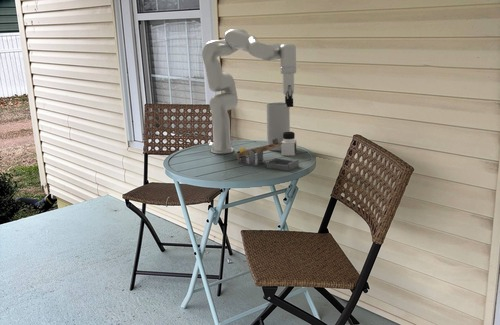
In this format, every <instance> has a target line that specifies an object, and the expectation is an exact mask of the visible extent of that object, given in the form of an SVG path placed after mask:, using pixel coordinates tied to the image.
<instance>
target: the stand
mask: <svg viewBox="0 0 500 325" xmlns="http://www.w3.org/2000/svg"><path fill="white" fill-rule="evenodd" d="M264 163H266V160H264V151H263V152H259V153H255V151H249V155H248V157H247V156H243V157H238V158H237V161H235V164H237V165H238V164H239V165H244V166H246V165H247V166H250V167H257V166H260V165H261V164H264Z"/></svg>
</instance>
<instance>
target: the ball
mask: <svg viewBox="0 0 500 325" xmlns="http://www.w3.org/2000/svg"><path fill="white" fill-rule="evenodd" d="M246 150H247V149H246V148H245V147H242V146H241V147H240V148H239V150H238V151H239V152H240V153H242V152H246Z"/></svg>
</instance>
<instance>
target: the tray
mask: <svg viewBox="0 0 500 325" xmlns="http://www.w3.org/2000/svg"><path fill="white" fill-rule="evenodd" d="M299 161H300V160H299V159H295V160H292V159H291V160H290V159H285V158H283V159H282V158H277V157H275V158H273V159H271V160H268V161H267V162H266V169H270V170H271V169H272V170H278V171H284V172H291V171H293V170H294V169H296V168H299V166H300V165H299V164H300V162H299Z"/></svg>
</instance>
